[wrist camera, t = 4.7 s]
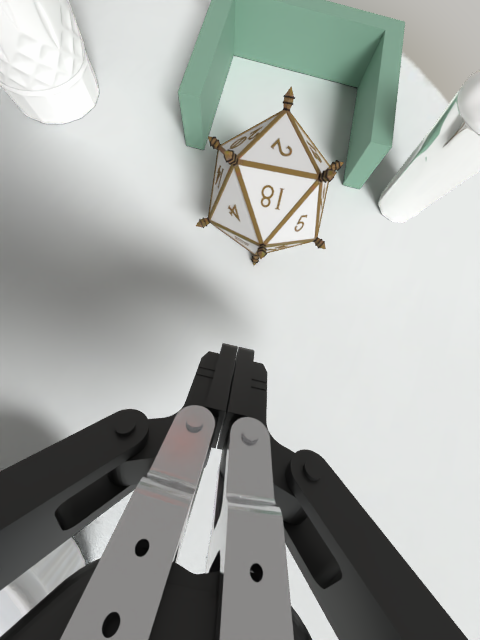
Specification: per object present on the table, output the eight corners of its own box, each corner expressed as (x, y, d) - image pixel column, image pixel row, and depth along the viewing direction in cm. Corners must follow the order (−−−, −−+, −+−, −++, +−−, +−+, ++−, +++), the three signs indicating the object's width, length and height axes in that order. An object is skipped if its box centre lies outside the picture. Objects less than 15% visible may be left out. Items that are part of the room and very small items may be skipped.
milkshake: (361, 226, 20) (492, 88, 10) (377, 175, 21) (509, 8, 12) (413, 247, 20) (594, 128, 10) (426, 195, 21) (601, 44, 11)
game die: (238, 266, 23) (148, 241, 14) (254, 167, 21) (166, 72, 13) (340, 279, 18) (300, 255, 10) (367, 156, 17) (351, 1, 8)
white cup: (56, 43, 22) (-79, -225, 12) (127, 89, 21) (46, -152, 11) (-15, 97, 20) (-238, -164, 10) (60, 148, 20) (-99, -74, 10)
